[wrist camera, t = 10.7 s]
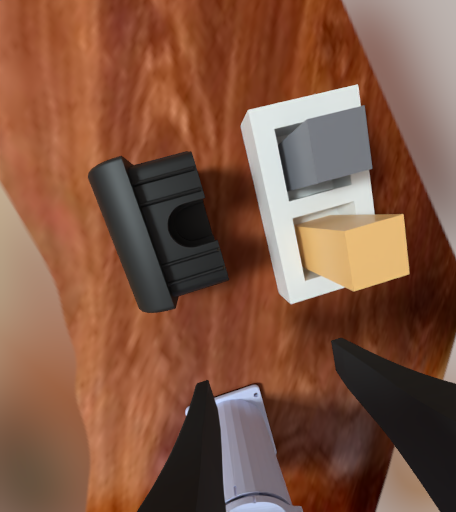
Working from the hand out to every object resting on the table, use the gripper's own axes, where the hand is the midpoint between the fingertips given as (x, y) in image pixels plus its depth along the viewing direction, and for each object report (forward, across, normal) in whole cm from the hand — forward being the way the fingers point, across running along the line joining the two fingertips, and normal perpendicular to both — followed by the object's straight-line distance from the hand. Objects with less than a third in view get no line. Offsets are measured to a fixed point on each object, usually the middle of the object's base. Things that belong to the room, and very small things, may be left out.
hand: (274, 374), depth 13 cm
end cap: (+11, +5, -8) cm, 15 cm away
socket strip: (+11, -8, -7) cm, 16 cm away
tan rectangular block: (+10, -8, -4) cm, 14 cm away
